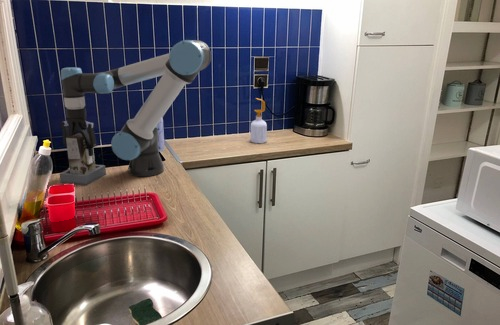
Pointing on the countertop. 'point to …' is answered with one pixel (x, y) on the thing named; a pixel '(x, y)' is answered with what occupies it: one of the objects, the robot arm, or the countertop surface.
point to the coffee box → (78, 155)
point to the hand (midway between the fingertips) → (82, 162)
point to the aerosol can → (160, 135)
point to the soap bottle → (259, 127)
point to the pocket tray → (83, 176)
